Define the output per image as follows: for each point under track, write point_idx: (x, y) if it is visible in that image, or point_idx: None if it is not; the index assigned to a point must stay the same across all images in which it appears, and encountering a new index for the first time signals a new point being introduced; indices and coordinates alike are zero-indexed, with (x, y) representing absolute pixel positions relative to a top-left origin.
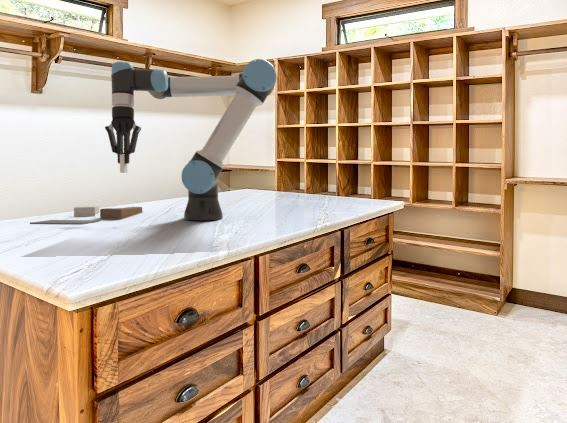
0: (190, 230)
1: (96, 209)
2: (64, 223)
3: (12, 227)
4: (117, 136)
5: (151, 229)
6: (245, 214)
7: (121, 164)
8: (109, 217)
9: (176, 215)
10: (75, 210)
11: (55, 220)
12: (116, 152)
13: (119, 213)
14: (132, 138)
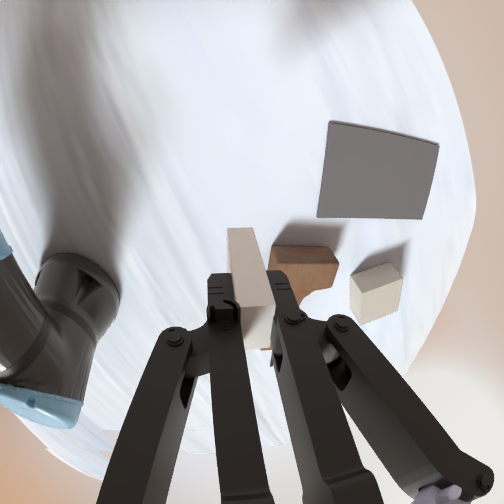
0: (2, 45)
1: (358, 302)
2: (374, 130)
3: (433, 61)
4: (351, 459)
5: (75, 23)
6: (95, 392)
7: (248, 254)
8: (305, 249)
9: (205, 375)
10: (397, 274)
11: (412, 204)
12: (316, 326)
13: (279, 255)
14: (138, 456)
